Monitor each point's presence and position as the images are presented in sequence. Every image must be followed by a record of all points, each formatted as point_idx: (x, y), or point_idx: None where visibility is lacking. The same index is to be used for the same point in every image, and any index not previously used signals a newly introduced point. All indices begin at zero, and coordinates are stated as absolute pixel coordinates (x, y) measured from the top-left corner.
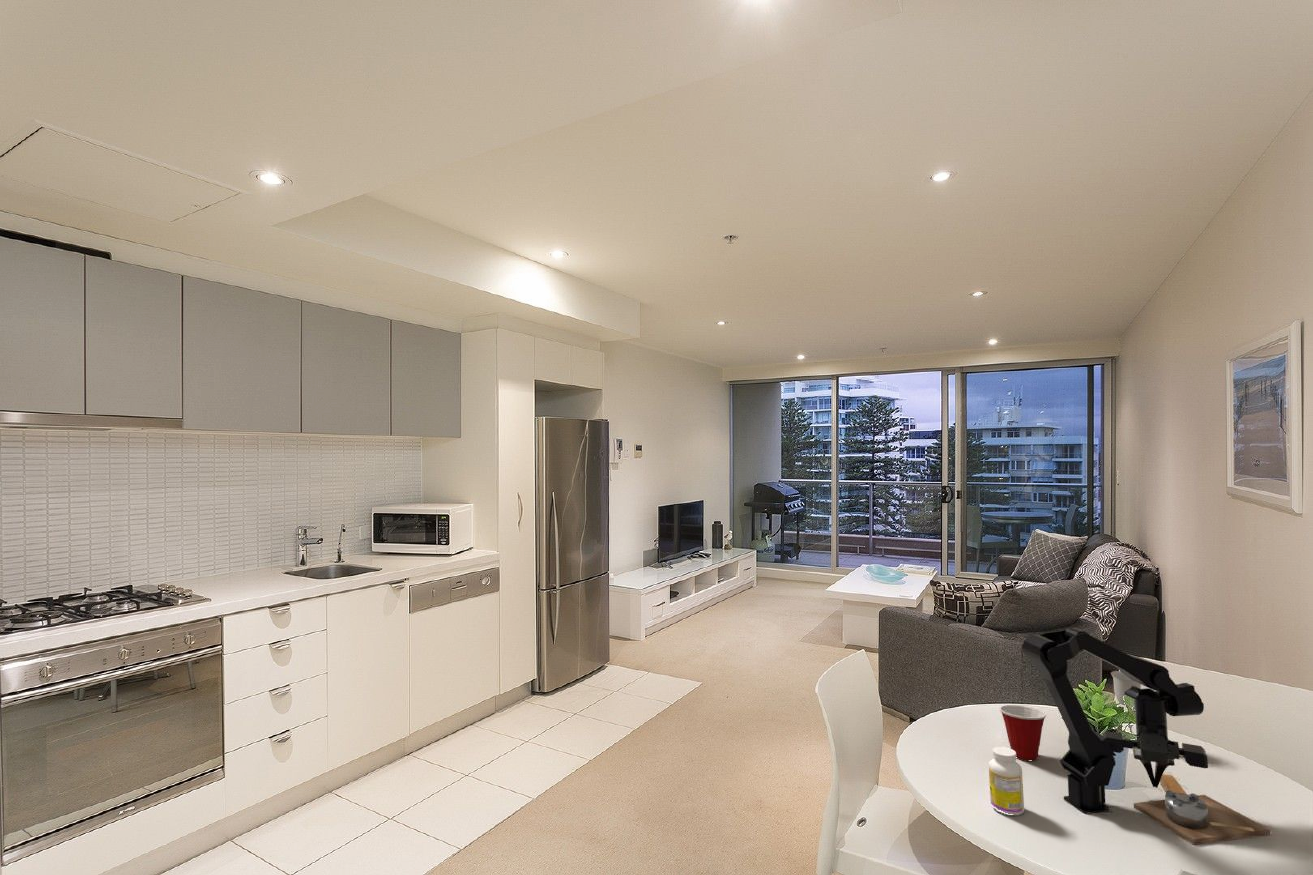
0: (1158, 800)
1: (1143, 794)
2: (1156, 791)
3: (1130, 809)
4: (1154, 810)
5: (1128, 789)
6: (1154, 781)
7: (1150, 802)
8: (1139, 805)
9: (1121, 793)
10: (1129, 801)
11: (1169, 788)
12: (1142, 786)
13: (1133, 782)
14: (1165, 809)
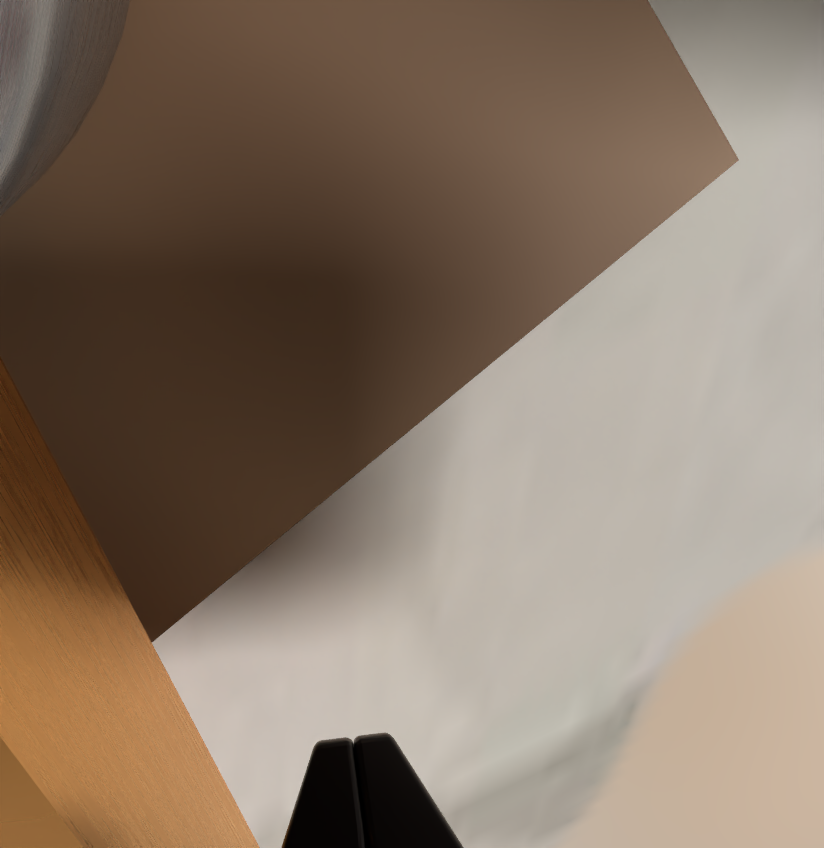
0: (302, 512)
1: (468, 650)
2: None
3: (763, 40)
4: (389, 13)
5: (618, 674)
6: (377, 844)
7: (431, 368)
8: (651, 109)
9: (732, 537)
10: (693, 357)
11: (18, 709)
12: (454, 806)
13: (531, 832)
14: (178, 199)
